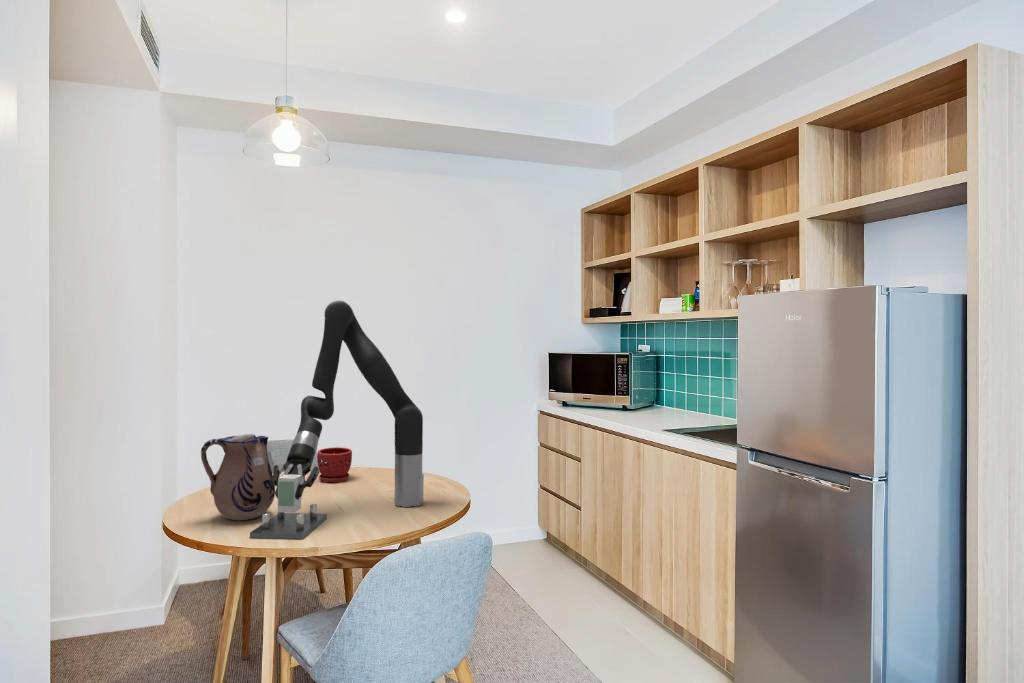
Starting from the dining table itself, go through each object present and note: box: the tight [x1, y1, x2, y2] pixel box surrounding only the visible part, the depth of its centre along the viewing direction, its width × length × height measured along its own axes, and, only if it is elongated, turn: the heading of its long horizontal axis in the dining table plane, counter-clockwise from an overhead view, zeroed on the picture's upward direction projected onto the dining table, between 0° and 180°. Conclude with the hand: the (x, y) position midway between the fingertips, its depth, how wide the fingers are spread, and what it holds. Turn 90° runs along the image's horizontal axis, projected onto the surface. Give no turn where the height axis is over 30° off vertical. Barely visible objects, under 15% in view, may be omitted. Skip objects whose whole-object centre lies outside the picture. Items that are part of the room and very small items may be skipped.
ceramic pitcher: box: [200, 433, 276, 521], centre depth 196 cm, size 18×21×25 cm
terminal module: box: [277, 474, 302, 513], centre depth 186 cm, size 5×5×10 cm
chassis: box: [249, 503, 328, 540], centre depth 186 cm, size 15×20×6 cm
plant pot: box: [316, 446, 353, 483], centre depth 247 cm, size 13×13×12 cm
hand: (287, 497), depth 184 cm, fingers closed on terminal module, 5 cm apart
